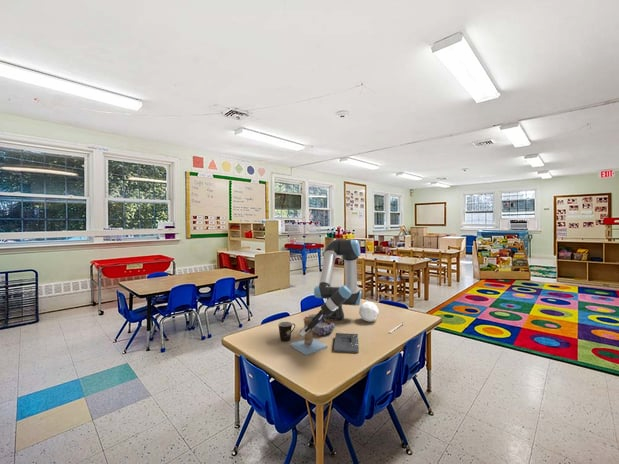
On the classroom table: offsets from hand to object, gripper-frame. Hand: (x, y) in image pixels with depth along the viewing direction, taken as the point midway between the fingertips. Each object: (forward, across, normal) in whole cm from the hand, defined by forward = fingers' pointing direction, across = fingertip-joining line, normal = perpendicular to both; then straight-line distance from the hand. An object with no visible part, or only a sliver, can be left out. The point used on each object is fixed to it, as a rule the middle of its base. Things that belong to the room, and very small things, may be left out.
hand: (302, 332), depth 174 cm
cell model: (0, +25, -12) cm, 28 cm away
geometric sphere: (-24, +50, -36) cm, 66 cm away
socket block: (-13, +6, -24) cm, 28 cm away
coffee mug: (+14, +9, +2) cm, 17 cm away
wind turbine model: (-37, +42, -49) cm, 74 cm away
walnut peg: (+1, 0, -7) cm, 7 cm away
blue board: (+3, 0, -8) cm, 9 cm away
